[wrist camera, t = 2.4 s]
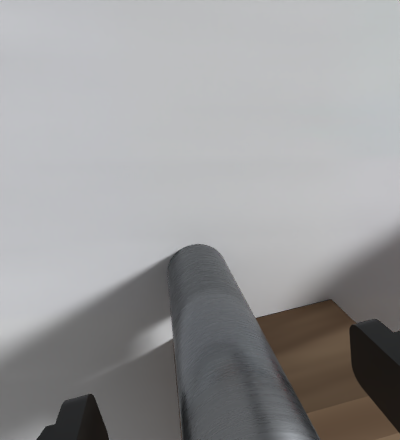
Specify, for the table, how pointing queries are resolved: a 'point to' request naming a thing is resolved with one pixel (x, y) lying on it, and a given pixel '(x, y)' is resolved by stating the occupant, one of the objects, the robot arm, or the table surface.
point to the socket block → (324, 372)
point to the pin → (226, 358)
